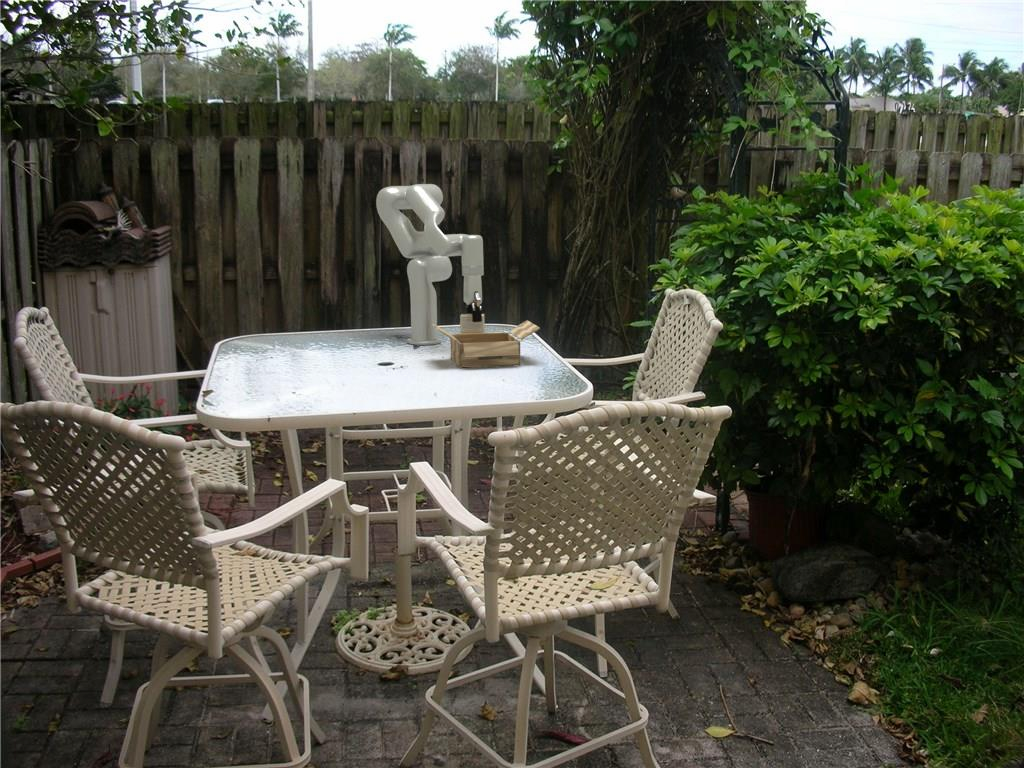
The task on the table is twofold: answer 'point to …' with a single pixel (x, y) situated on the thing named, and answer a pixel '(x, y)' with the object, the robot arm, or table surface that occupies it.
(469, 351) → the flap
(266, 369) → the table surface
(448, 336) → the flap
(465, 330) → the supplement box
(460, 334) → the flap
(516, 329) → the flap
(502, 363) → the wooden crate
